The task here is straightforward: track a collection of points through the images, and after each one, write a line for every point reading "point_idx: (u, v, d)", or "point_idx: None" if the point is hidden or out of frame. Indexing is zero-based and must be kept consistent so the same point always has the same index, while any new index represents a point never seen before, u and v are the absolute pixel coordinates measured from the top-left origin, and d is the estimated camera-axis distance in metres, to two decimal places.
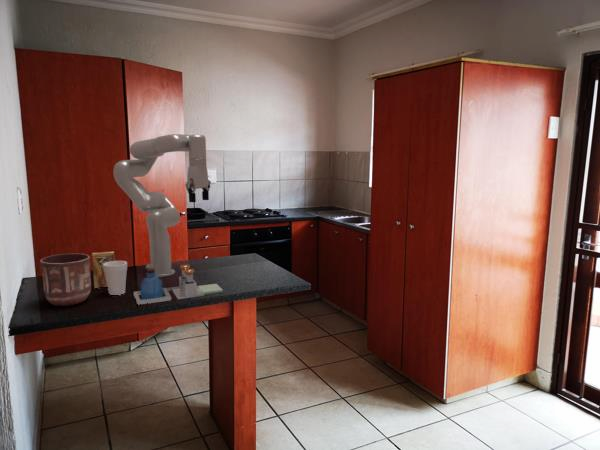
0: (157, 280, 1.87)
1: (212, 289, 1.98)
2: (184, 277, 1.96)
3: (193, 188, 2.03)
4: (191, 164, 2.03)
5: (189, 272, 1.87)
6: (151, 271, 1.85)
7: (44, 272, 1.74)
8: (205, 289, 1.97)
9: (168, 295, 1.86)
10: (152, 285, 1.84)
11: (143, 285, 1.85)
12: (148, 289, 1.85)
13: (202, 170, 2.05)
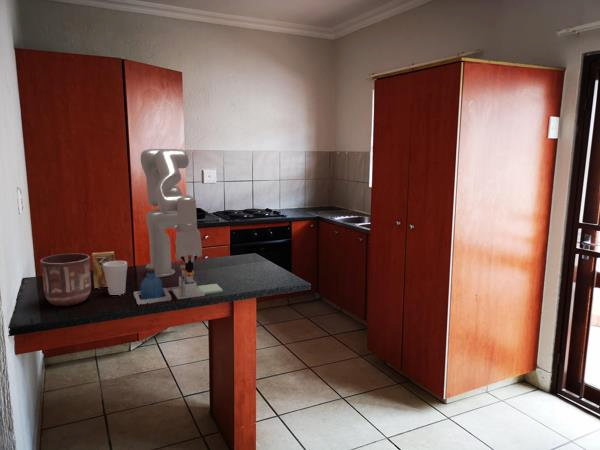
0: (157, 280, 1.87)
1: (212, 289, 1.98)
2: (184, 277, 1.96)
3: None
4: (196, 228, 1.87)
5: (189, 273, 1.88)
6: (151, 271, 1.85)
7: (44, 272, 1.74)
8: (205, 289, 1.97)
9: (168, 295, 1.86)
10: (152, 285, 1.84)
11: (143, 285, 1.85)
12: (148, 289, 1.85)
13: None
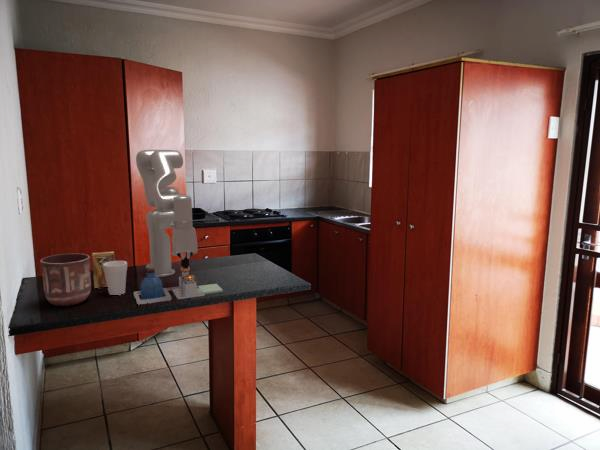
0: (157, 280, 1.87)
1: (212, 289, 1.98)
2: None
3: None
4: (192, 226, 1.94)
5: (189, 278, 1.88)
6: (151, 271, 1.85)
7: (44, 272, 1.74)
8: (205, 289, 1.97)
9: (168, 295, 1.86)
10: (152, 285, 1.84)
11: (143, 285, 1.85)
12: (148, 289, 1.85)
13: None
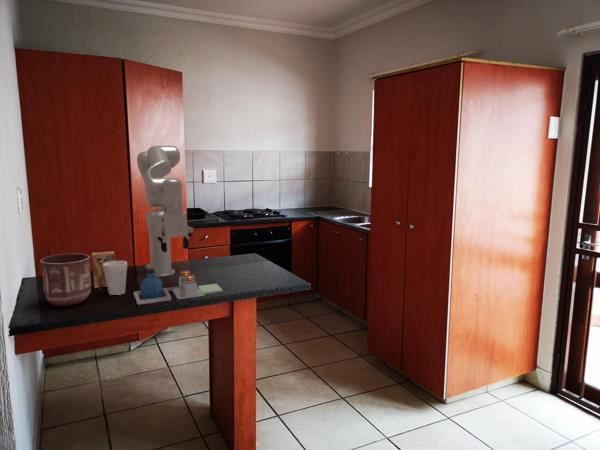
0: (157, 280, 1.87)
1: (212, 289, 1.98)
2: None
3: None
4: None
5: (189, 278, 1.88)
6: (151, 271, 1.85)
7: (44, 272, 1.74)
8: (205, 289, 1.97)
9: (168, 295, 1.86)
10: (152, 285, 1.84)
11: (143, 285, 1.85)
12: (148, 289, 1.85)
13: None
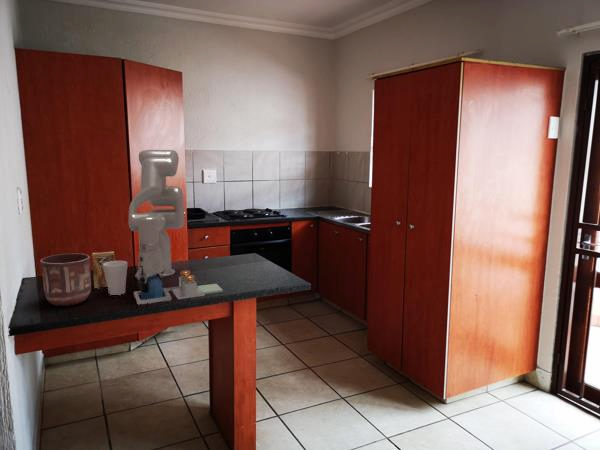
0: (157, 280, 1.87)
1: (212, 289, 1.98)
2: None
3: None
4: None
5: (189, 278, 1.88)
6: None
7: (44, 272, 1.74)
8: (205, 289, 1.97)
9: (168, 295, 1.86)
10: (152, 285, 1.84)
11: None
12: (148, 289, 1.85)
13: None
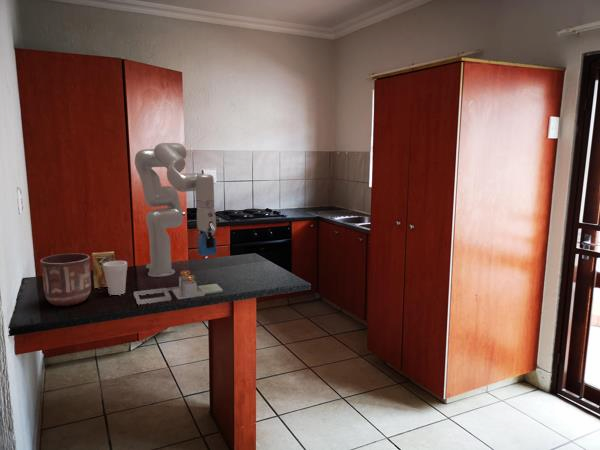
0: None
1: (212, 289, 1.98)
2: None
3: (199, 230, 1.98)
4: None
5: (189, 278, 1.88)
6: None
7: (44, 272, 1.74)
8: (205, 289, 1.97)
9: (168, 295, 1.86)
10: None
11: (204, 240, 1.92)
12: None
13: (199, 212, 1.92)
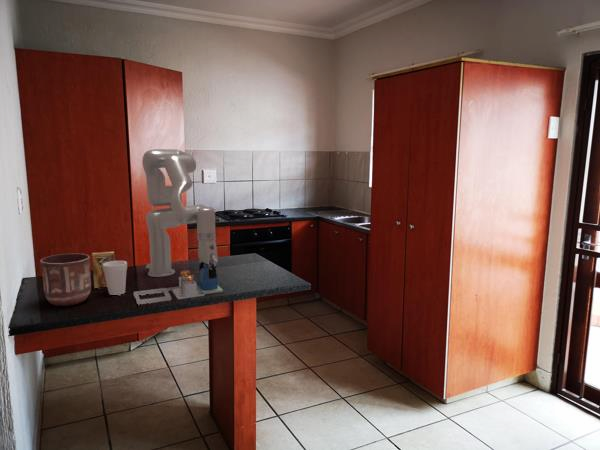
0: None
1: (212, 289, 1.98)
2: None
3: None
4: None
5: (189, 278, 1.88)
6: None
7: (44, 272, 1.74)
8: None
9: (168, 295, 1.86)
10: None
11: (206, 276, 1.95)
12: (211, 279, 1.96)
13: (201, 245, 1.94)
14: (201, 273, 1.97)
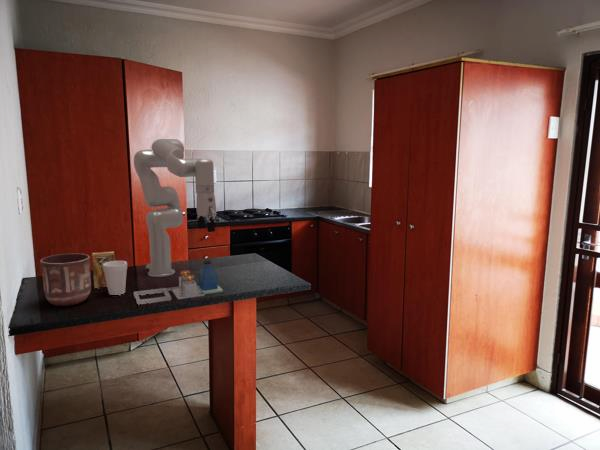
0: None
1: (212, 289, 1.98)
2: None
3: None
4: None
5: (189, 278, 1.88)
6: (210, 262, 1.97)
7: (44, 272, 1.74)
8: None
9: (168, 295, 1.86)
10: (215, 274, 1.97)
11: (206, 276, 1.95)
12: (211, 279, 1.96)
13: (199, 198, 1.91)
14: (201, 273, 1.97)
